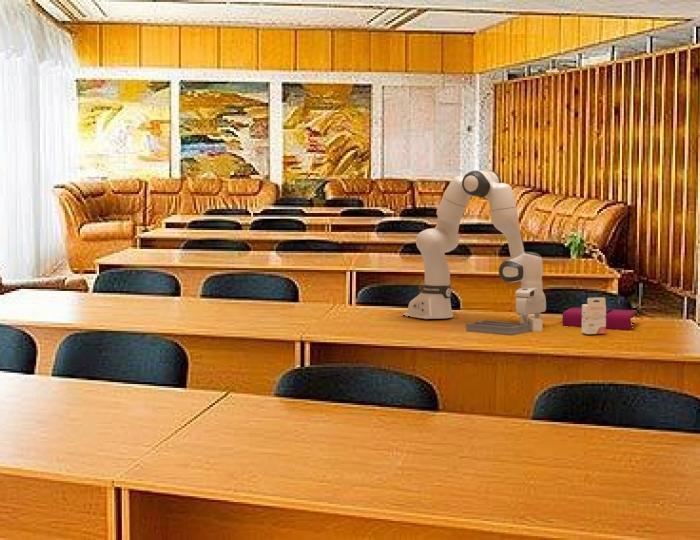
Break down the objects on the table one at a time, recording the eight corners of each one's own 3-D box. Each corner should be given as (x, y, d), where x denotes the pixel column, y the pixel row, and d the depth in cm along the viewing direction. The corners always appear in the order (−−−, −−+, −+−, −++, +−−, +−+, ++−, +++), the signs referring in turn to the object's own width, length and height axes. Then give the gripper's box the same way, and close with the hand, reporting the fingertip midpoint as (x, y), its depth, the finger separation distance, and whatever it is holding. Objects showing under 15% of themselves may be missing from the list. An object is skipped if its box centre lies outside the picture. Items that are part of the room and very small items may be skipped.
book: (630, 332, 437) (630, 313, 436) (562, 328, 447) (562, 310, 447) (636, 326, 456) (636, 308, 456) (570, 323, 467) (571, 305, 466)
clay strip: (519, 327, 450) (520, 315, 450) (528, 326, 451) (529, 315, 451) (532, 332, 435) (533, 319, 434) (542, 331, 435) (542, 319, 435)
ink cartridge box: (599, 332, 434) (600, 296, 432) (605, 333, 429) (606, 297, 428) (580, 332, 431) (581, 296, 430) (586, 334, 426) (587, 297, 425)
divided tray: (466, 330, 435) (466, 323, 435) (484, 327, 447) (484, 320, 447) (511, 335, 422) (511, 327, 422) (529, 331, 434) (529, 324, 434)
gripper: (536, 289, 452) (536, 321, 453) (513, 292, 435) (512, 326, 436) (550, 289, 448) (549, 322, 449) (526, 293, 432) (526, 327, 433)
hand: (531, 324), depth 442 cm, fingers open, 7 cm apart
